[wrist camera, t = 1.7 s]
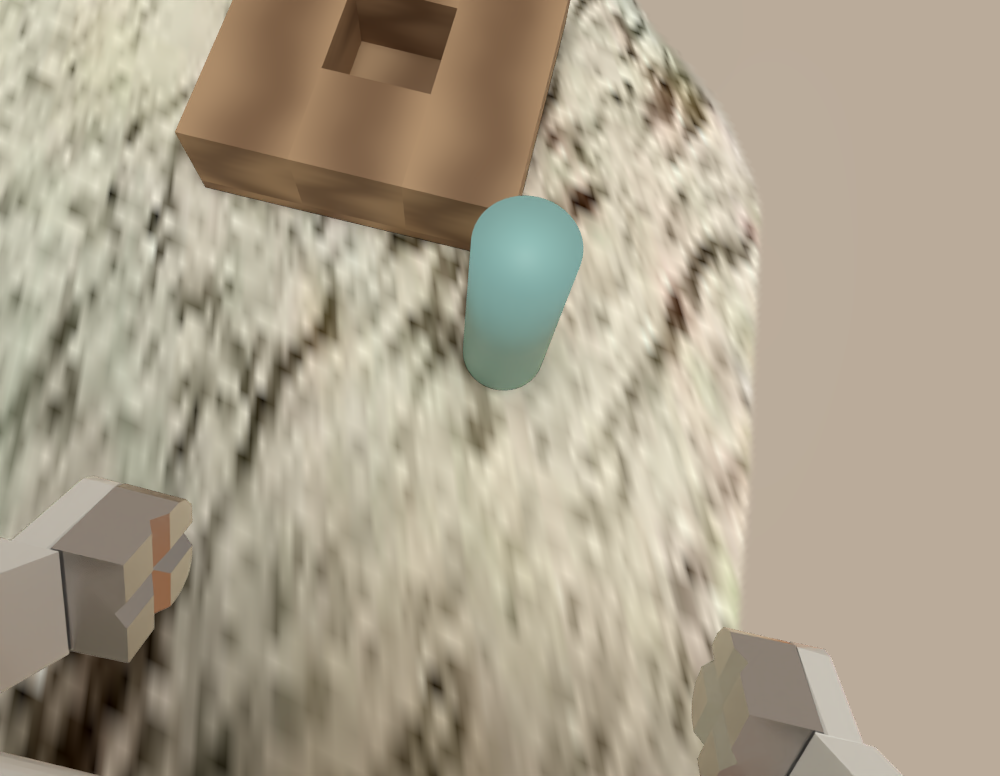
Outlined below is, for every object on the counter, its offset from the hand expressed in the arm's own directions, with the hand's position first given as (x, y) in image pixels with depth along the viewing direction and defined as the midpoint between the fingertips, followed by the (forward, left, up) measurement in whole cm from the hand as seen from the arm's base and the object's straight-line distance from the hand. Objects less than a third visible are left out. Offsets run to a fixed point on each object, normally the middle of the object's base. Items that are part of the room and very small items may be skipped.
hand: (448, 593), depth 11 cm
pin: (0, +12, -23) cm, 26 cm away
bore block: (-9, +25, -22) cm, 35 cm away
